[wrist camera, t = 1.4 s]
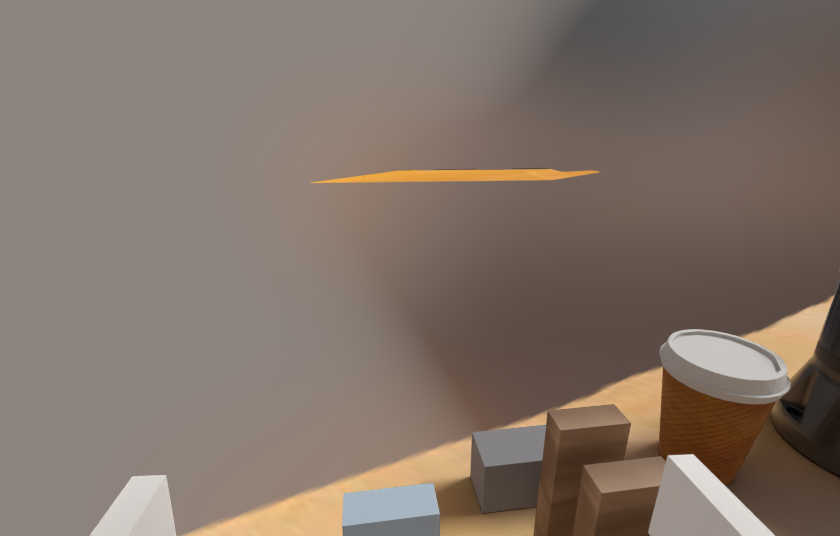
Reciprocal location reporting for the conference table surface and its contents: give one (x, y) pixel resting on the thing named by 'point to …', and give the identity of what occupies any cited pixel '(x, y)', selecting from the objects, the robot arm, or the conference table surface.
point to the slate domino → (392, 512)
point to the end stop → (507, 467)
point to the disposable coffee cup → (716, 397)
